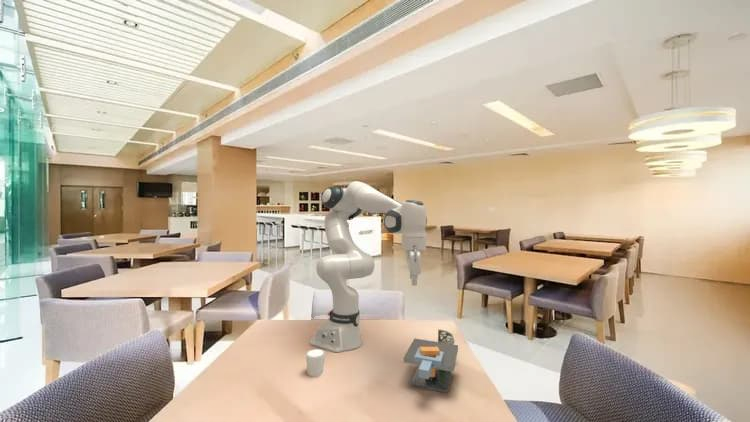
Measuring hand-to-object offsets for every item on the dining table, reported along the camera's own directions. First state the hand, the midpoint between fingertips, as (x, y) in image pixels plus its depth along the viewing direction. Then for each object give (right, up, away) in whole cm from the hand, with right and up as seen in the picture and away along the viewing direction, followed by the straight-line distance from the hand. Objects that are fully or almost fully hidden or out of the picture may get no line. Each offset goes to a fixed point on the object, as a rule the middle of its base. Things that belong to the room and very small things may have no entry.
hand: (413, 281), depth 113 cm
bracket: (+3, -24, -15) cm, 28 cm away
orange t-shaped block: (+4, -28, -12) cm, 30 cm away
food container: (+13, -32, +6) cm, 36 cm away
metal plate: (+5, -32, -7) cm, 33 cm away
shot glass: (-36, -32, -3) cm, 48 cm away
